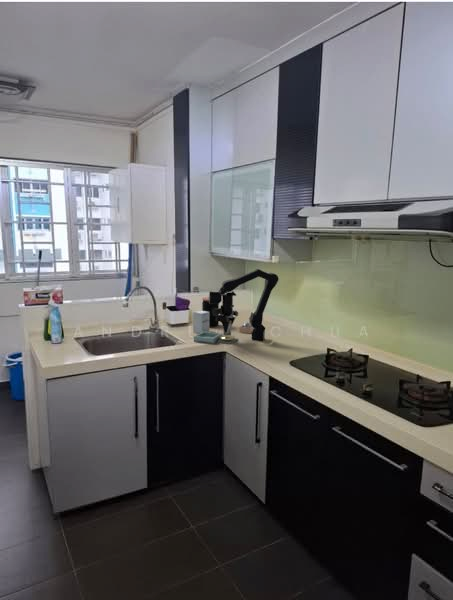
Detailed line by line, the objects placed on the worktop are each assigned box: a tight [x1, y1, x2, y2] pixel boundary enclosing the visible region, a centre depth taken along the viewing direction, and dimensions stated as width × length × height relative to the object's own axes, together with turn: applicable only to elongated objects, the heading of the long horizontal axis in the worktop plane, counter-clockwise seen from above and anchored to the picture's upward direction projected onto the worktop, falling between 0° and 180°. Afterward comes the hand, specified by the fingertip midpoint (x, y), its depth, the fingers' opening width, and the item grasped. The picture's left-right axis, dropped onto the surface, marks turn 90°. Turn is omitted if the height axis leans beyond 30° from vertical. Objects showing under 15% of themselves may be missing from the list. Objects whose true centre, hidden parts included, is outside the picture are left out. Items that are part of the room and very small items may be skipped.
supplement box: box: [192, 310, 210, 334], centre depth 243 cm, size 7×7×13 cm
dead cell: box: [243, 321, 251, 328], centre depth 243 cm, size 4×4×6 cm
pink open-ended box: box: [238, 323, 254, 335], centre depth 243 cm, size 7×7×4 cm
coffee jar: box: [201, 296, 220, 328], centre depth 260 cm, size 11×11×18 cm
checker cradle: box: [216, 337, 238, 345], centre depth 224 cm, size 9×9×2 cm
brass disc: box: [220, 334, 236, 340], centre depth 224 cm, size 8×8×1 cm
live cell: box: [222, 320, 232, 336], centre depth 223 cm, size 4×4×9 cm
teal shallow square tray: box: [193, 331, 223, 345], centre depth 226 cm, size 12×12×3 cm
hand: (227, 330), depth 223 cm, fingers closed on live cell, 4 cm apart
